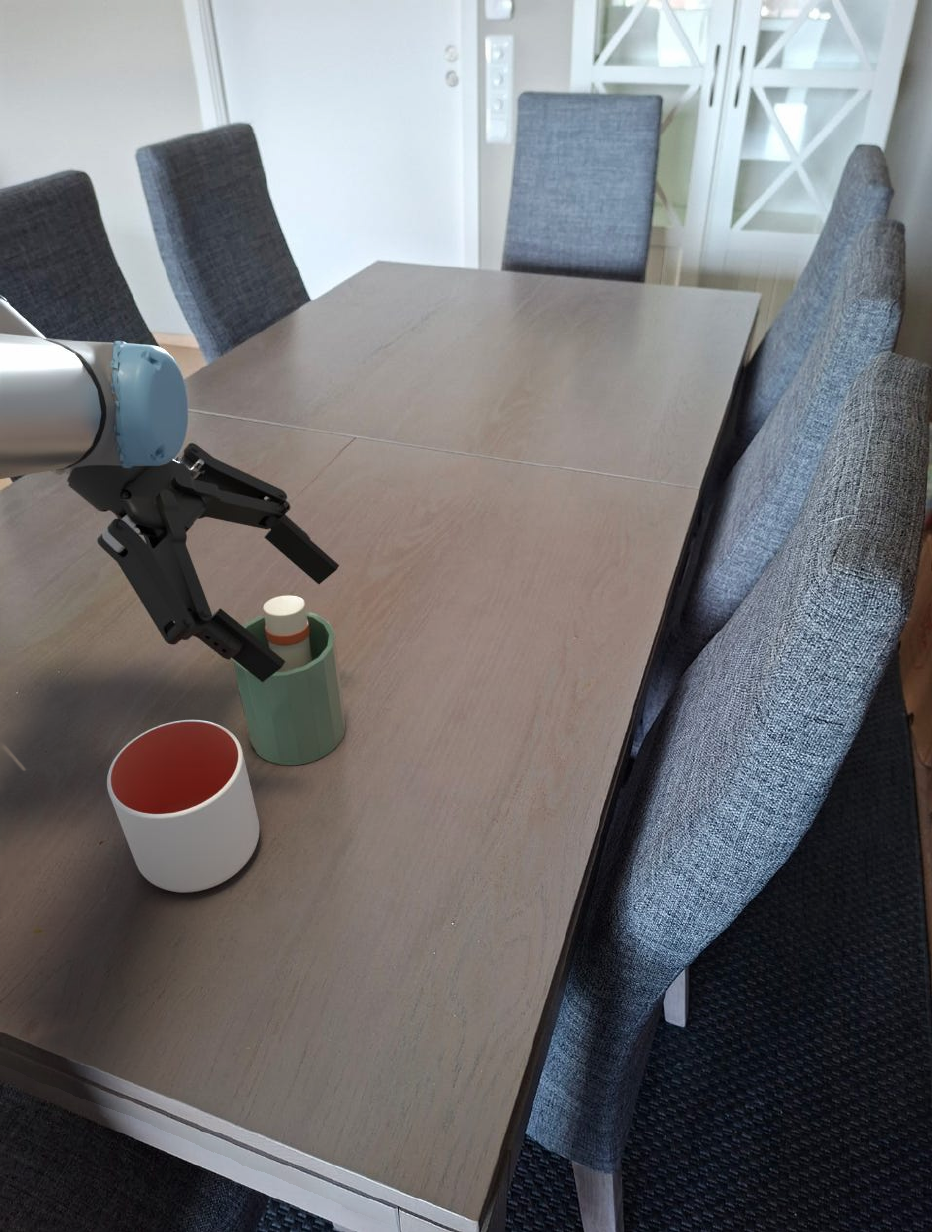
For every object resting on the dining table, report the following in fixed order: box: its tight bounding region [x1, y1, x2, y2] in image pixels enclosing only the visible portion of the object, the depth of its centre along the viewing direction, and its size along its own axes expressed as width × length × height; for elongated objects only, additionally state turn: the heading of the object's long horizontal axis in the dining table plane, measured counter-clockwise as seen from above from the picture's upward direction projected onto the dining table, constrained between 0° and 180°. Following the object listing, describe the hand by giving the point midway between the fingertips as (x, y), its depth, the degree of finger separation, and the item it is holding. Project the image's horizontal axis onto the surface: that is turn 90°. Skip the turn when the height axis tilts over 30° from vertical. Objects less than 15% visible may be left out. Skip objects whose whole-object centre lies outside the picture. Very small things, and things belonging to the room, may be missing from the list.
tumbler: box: [230, 611, 346, 766], centre depth 80 cm, size 9×9×11 cm
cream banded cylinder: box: [262, 595, 312, 672], centre depth 79 cm, size 4×4×13 cm
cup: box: [106, 719, 260, 893], centre depth 69 cm, size 10×10×10 cm
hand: (303, 620), depth 74 cm, fingers open, 13 cm apart
